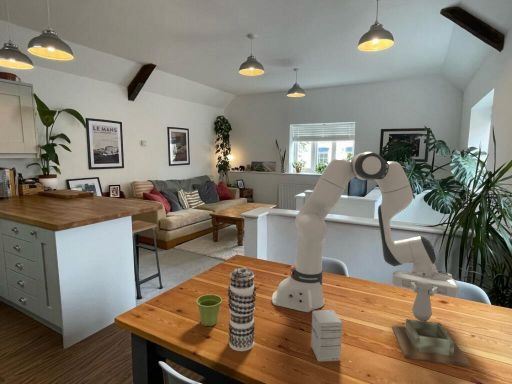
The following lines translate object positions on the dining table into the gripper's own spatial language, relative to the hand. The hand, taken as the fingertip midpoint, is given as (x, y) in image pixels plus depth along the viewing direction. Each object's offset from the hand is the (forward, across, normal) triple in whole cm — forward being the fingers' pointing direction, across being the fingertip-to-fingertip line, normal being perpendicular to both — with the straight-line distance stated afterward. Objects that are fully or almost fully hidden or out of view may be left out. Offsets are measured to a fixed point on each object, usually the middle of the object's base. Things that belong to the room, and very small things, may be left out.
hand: (423, 292), depth 96 cm
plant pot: (+29, -68, +17) cm, 76 cm away
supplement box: (+24, -26, +17) cm, 39 cm away
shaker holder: (+3, +2, +17) cm, 17 cm away
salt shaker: (-1, 0, +10) cm, 10 cm away
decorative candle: (+33, -51, +17) cm, 63 cm away
